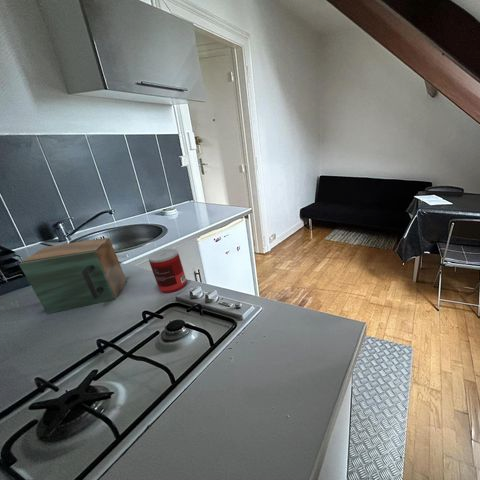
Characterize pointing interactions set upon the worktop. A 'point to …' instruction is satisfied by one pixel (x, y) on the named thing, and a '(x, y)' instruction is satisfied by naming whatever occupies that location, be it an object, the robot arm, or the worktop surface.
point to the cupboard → (98, 245)
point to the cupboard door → (68, 281)
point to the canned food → (167, 270)
